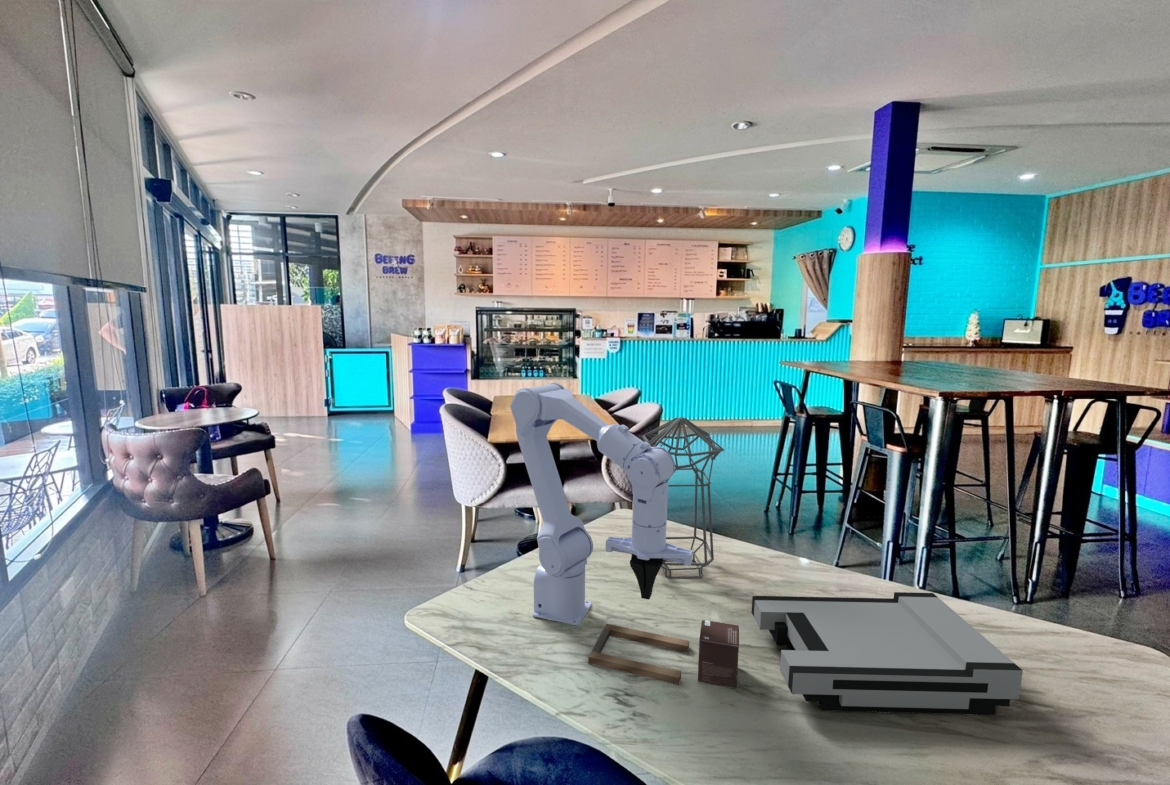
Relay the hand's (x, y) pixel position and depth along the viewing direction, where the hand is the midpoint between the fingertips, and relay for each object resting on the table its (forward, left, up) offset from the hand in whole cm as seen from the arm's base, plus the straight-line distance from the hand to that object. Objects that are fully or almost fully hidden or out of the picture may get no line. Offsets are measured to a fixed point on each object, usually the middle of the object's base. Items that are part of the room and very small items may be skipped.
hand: (646, 596), depth 92 cm
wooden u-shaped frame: (0, -3, -9) cm, 10 cm away
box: (+13, -3, -10) cm, 16 cm away
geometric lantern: (0, +29, -9) cm, 31 cm away
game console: (+35, +6, -10) cm, 37 cm away
